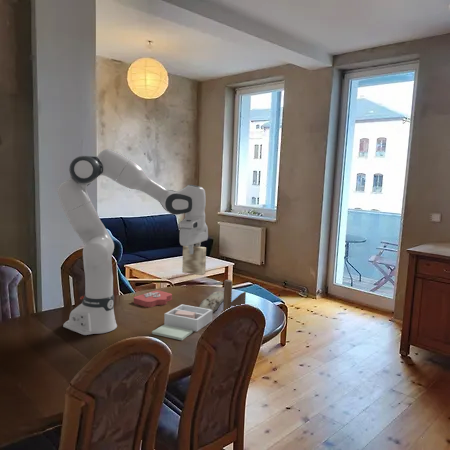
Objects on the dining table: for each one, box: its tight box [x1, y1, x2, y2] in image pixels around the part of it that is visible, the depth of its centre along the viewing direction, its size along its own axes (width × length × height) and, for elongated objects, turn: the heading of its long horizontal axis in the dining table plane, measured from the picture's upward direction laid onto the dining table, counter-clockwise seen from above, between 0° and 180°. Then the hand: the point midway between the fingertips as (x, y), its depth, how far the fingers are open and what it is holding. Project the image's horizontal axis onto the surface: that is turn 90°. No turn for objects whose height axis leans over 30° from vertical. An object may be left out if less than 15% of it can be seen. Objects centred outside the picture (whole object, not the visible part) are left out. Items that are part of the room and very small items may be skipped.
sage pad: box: [151, 324, 194, 341], centre depth 173 cm, size 14×9×1 cm, turn 66°
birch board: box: [181, 245, 207, 276], centre depth 185 cm, size 10×3×12 cm, turn 66°
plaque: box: [133, 289, 173, 308], centre depth 213 cm, size 18×4×15 cm
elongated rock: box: [198, 290, 224, 313], centre depth 212 cm, size 35×5×10 cm
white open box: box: [163, 304, 214, 332], centre depth 185 cm, size 16×15×5 cm
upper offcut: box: [175, 311, 195, 319], centre depth 182 cm, size 8×4×3 cm, turn 78°
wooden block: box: [221, 279, 247, 313], centre depth 189 cm, size 4×11×18 cm, turn 54°
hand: (194, 253), depth 185 cm, fingers closed on birch board, 3 cm apart
